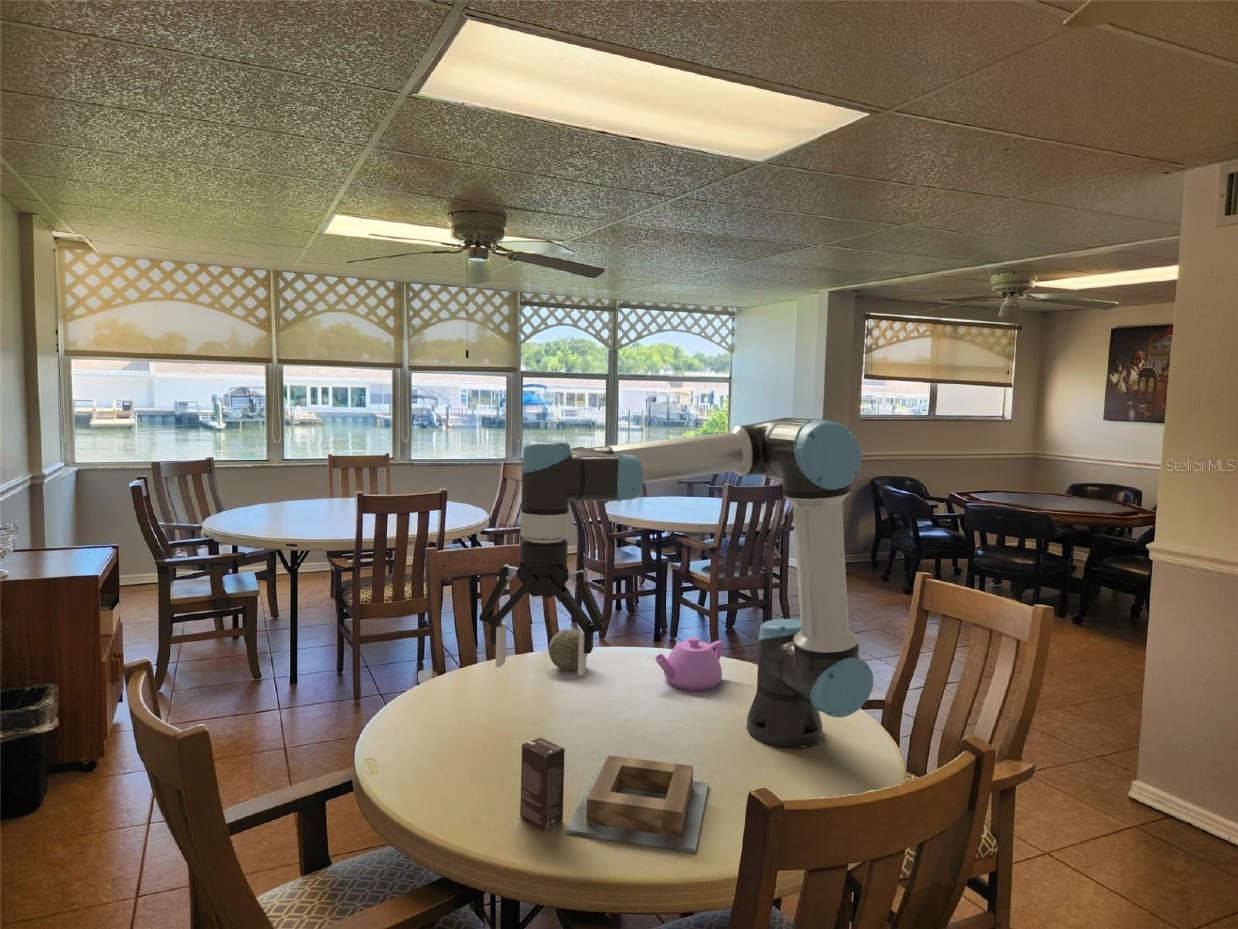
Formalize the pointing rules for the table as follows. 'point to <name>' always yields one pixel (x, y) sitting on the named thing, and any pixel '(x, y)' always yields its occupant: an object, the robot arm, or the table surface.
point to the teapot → (693, 664)
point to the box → (542, 783)
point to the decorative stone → (565, 649)
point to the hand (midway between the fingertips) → (540, 668)
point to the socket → (642, 804)
